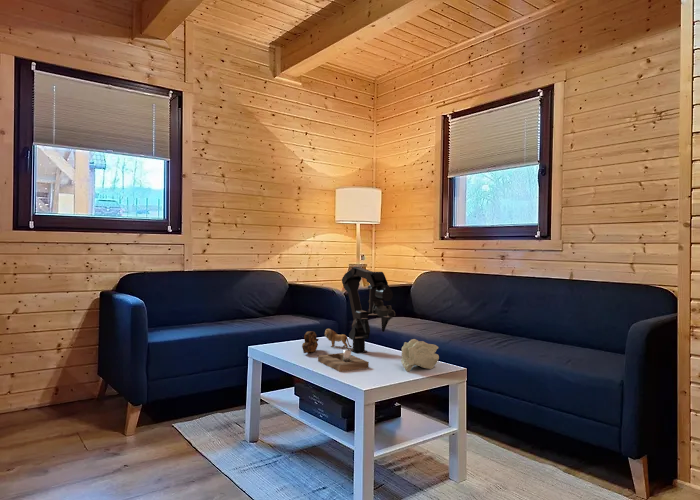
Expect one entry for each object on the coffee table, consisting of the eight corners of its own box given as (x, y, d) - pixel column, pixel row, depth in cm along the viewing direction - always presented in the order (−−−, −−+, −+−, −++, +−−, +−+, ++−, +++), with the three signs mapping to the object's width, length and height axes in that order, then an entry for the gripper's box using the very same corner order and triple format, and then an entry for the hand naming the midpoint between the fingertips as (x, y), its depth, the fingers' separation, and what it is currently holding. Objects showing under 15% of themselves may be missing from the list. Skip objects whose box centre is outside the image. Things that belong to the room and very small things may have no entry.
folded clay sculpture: (419, 381, 211) (425, 346, 218) (440, 380, 201) (445, 344, 207) (387, 368, 204) (394, 333, 210) (407, 366, 193) (414, 329, 200)
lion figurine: (322, 346, 246) (323, 329, 246) (326, 345, 251) (326, 327, 251) (350, 349, 242) (350, 331, 242) (353, 347, 247) (353, 329, 247)
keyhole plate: (317, 361, 215) (318, 355, 215) (345, 358, 222) (345, 352, 222) (339, 371, 198) (339, 365, 198) (368, 368, 205) (368, 362, 205)
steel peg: (338, 365, 208) (339, 349, 208) (348, 364, 210) (349, 348, 210) (344, 368, 203) (344, 351, 203) (354, 367, 206) (355, 350, 206)
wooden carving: (310, 356, 225) (311, 334, 225) (301, 355, 226) (301, 334, 226) (319, 349, 241) (320, 329, 241) (311, 348, 242) (311, 328, 242)
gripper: (366, 301, 212) (365, 336, 213) (402, 300, 221) (401, 334, 221) (354, 298, 222) (353, 332, 222) (389, 297, 231) (388, 329, 231)
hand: (374, 332), depth 224 cm, fingers open, 9 cm apart
